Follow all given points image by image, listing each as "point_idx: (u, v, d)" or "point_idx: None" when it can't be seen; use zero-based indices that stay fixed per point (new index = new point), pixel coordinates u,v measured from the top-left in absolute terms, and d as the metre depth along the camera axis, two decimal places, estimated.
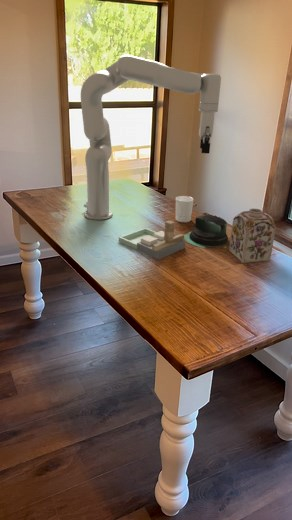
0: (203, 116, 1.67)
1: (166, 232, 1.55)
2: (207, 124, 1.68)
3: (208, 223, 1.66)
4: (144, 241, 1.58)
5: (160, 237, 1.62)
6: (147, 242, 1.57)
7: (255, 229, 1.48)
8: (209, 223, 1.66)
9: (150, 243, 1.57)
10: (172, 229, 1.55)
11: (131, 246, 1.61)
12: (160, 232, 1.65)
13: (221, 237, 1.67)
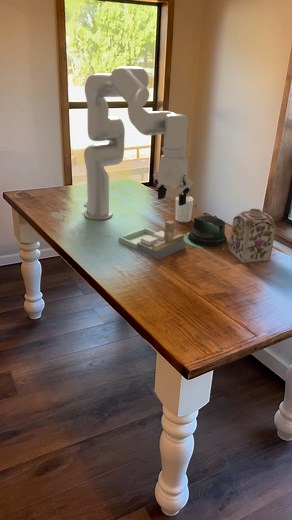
0: (180, 165, 1.41)
1: (166, 232, 1.55)
2: (184, 172, 1.43)
3: (206, 224, 1.66)
4: (144, 241, 1.58)
5: (160, 237, 1.62)
6: (147, 242, 1.57)
7: (255, 229, 1.48)
8: (207, 224, 1.65)
9: (150, 243, 1.57)
10: (172, 229, 1.55)
11: (131, 246, 1.61)
12: (160, 232, 1.65)
13: (219, 238, 1.66)
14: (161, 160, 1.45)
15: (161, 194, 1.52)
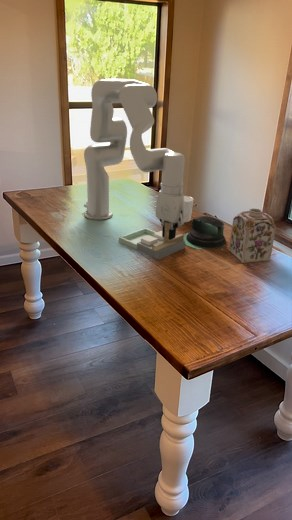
0: (177, 201, 1.46)
1: (166, 232, 1.55)
2: (181, 208, 1.48)
3: (205, 224, 1.65)
4: (144, 241, 1.58)
5: (160, 237, 1.62)
6: (147, 242, 1.57)
7: (255, 229, 1.48)
8: (206, 224, 1.64)
9: (150, 243, 1.57)
10: None
11: (131, 246, 1.61)
12: (160, 232, 1.65)
13: (218, 239, 1.65)
14: (159, 195, 1.50)
15: None
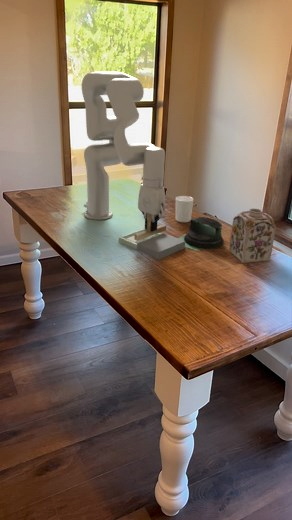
0: (157, 194, 1.51)
1: (148, 222, 1.60)
2: (161, 201, 1.54)
3: (203, 225, 1.64)
4: None
5: None
6: None
7: (255, 229, 1.48)
8: (204, 225, 1.63)
9: None
10: None
11: (131, 246, 1.61)
12: None
13: (216, 240, 1.64)
14: (141, 189, 1.56)
15: None
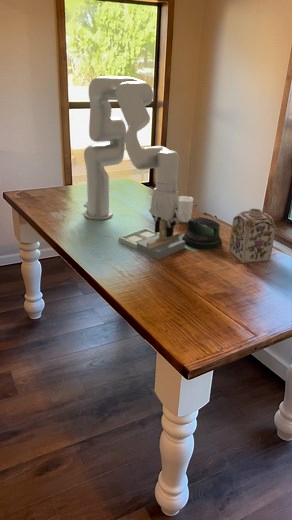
0: (171, 198, 1.47)
1: (161, 230, 1.57)
2: (175, 205, 1.50)
3: (201, 226, 1.63)
4: None
5: (141, 237, 1.69)
6: None
7: (255, 229, 1.48)
8: (202, 226, 1.63)
9: None
10: None
11: (131, 246, 1.61)
12: None
13: (214, 240, 1.63)
14: (154, 193, 1.52)
15: (158, 228, 1.59)
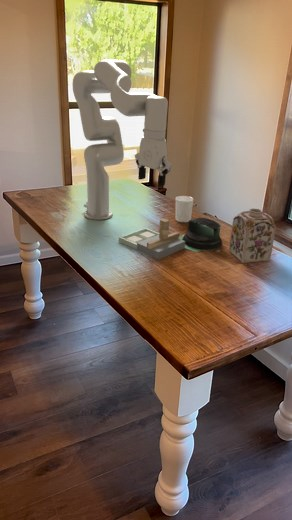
0: (159, 146, 1.45)
1: (161, 230, 1.57)
2: (163, 154, 1.47)
3: (201, 226, 1.63)
4: None
5: (141, 237, 1.69)
6: None
7: (255, 229, 1.48)
8: (202, 226, 1.63)
9: None
10: (167, 227, 1.56)
11: (131, 246, 1.61)
12: None
13: (214, 241, 1.63)
14: (142, 141, 1.49)
15: (142, 175, 1.57)
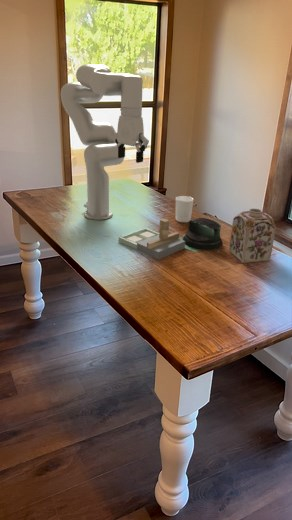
0: (135, 123, 1.51)
1: (161, 230, 1.57)
2: (140, 131, 1.53)
3: (201, 226, 1.63)
4: None
5: (141, 237, 1.69)
6: None
7: (255, 229, 1.48)
8: (202, 226, 1.62)
9: None
10: (167, 227, 1.56)
11: (131, 246, 1.61)
12: None
13: (214, 241, 1.63)
14: (119, 119, 1.55)
15: (121, 153, 1.63)
